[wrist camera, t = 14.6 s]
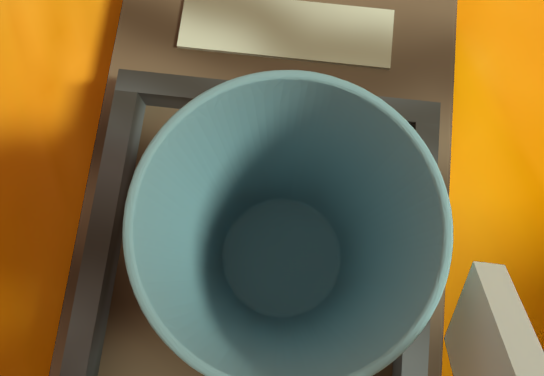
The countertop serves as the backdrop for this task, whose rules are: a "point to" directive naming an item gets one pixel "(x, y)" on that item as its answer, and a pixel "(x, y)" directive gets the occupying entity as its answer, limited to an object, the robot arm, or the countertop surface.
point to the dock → (205, 75)
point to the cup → (287, 229)
